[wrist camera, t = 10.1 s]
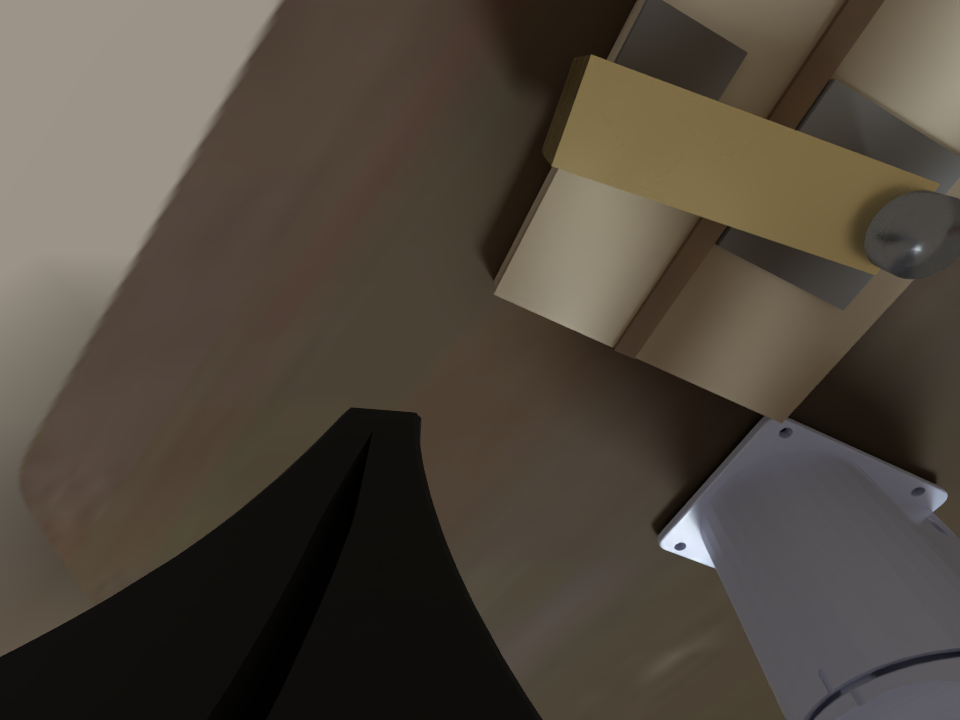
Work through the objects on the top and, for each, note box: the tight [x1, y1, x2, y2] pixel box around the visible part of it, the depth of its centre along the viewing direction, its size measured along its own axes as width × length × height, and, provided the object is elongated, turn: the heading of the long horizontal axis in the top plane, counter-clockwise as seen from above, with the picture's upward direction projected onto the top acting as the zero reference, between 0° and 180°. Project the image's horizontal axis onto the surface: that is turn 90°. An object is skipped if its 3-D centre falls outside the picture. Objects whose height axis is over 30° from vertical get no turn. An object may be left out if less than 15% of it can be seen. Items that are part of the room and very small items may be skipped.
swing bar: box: [541, 54, 960, 279], centre depth 13 cm, size 10×2×3 cm, turn 73°
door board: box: [493, 0, 960, 423], centre depth 14 cm, size 12×21×2 cm, turn 155°
